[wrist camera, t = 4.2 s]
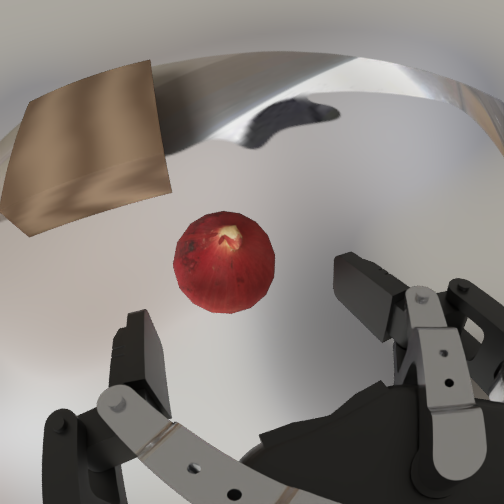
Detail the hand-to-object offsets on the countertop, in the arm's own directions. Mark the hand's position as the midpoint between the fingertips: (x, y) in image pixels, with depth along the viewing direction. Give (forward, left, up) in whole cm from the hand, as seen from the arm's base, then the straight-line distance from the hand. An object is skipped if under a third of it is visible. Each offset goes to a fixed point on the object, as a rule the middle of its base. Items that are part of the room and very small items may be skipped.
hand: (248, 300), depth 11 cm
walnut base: (-9, +18, -8) cm, 22 cm away
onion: (0, +3, -8) cm, 9 cm away
